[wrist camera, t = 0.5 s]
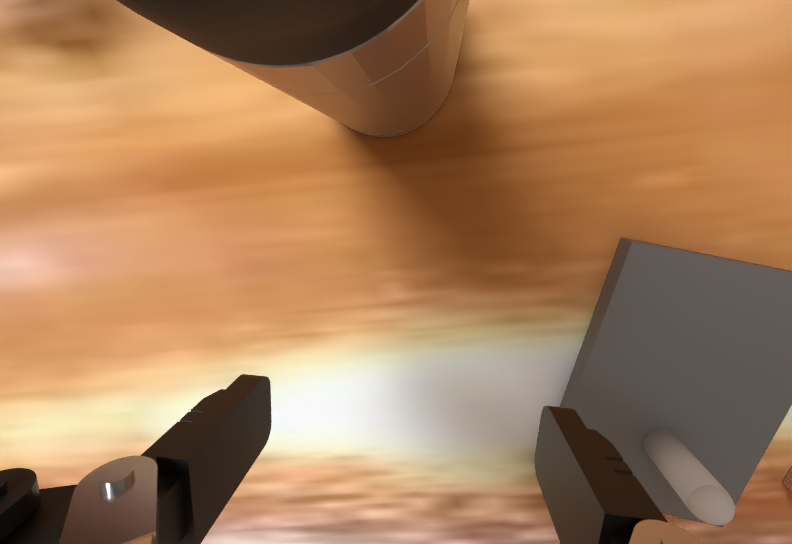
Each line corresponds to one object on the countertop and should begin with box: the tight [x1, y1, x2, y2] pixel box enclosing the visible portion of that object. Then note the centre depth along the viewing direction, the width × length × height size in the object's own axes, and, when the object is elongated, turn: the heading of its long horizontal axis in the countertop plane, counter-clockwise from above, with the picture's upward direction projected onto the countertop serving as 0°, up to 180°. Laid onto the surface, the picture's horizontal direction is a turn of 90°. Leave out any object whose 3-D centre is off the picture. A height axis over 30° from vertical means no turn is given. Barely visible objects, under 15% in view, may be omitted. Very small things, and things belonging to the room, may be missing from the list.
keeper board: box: [560, 237, 792, 527], centre depth 24 cm, size 20×14×8 cm
